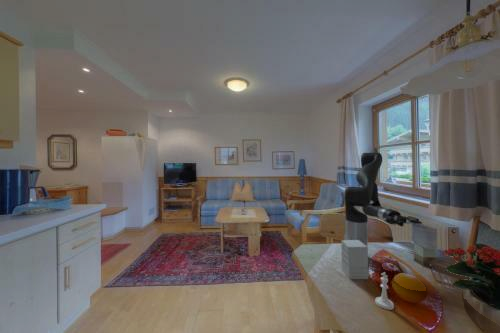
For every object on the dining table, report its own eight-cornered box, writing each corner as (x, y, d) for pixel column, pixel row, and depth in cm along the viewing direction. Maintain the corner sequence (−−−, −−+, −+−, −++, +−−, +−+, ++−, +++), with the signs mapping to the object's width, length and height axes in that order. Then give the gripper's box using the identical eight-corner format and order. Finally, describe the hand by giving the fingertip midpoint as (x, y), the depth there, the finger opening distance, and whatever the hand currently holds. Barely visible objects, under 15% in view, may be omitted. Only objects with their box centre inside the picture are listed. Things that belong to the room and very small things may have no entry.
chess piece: (387, 311, 60) (387, 278, 60) (371, 301, 64) (371, 270, 64) (397, 306, 62) (397, 274, 62) (381, 297, 66) (381, 267, 66)
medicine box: (437, 249, 84) (437, 229, 84) (426, 249, 84) (426, 229, 84) (421, 242, 92) (421, 223, 92) (411, 242, 92) (411, 223, 92)
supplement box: (359, 269, 84) (359, 239, 83) (368, 280, 76) (368, 247, 76) (341, 269, 84) (340, 239, 84) (348, 279, 77) (348, 246, 76)
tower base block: (423, 266, 86) (423, 257, 86) (413, 260, 91) (413, 252, 91) (435, 266, 86) (435, 257, 86) (425, 261, 91) (425, 252, 91)
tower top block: (423, 257, 86) (423, 248, 86) (413, 252, 91) (413, 243, 91) (435, 257, 86) (435, 247, 86) (425, 252, 91) (425, 243, 91)
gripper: (376, 208, 111) (396, 216, 95) (402, 208, 111) (427, 216, 95) (376, 222, 111) (396, 232, 95) (402, 222, 111) (427, 232, 95)
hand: (412, 224), depth 95 cm, fingers open, 8 cm apart
